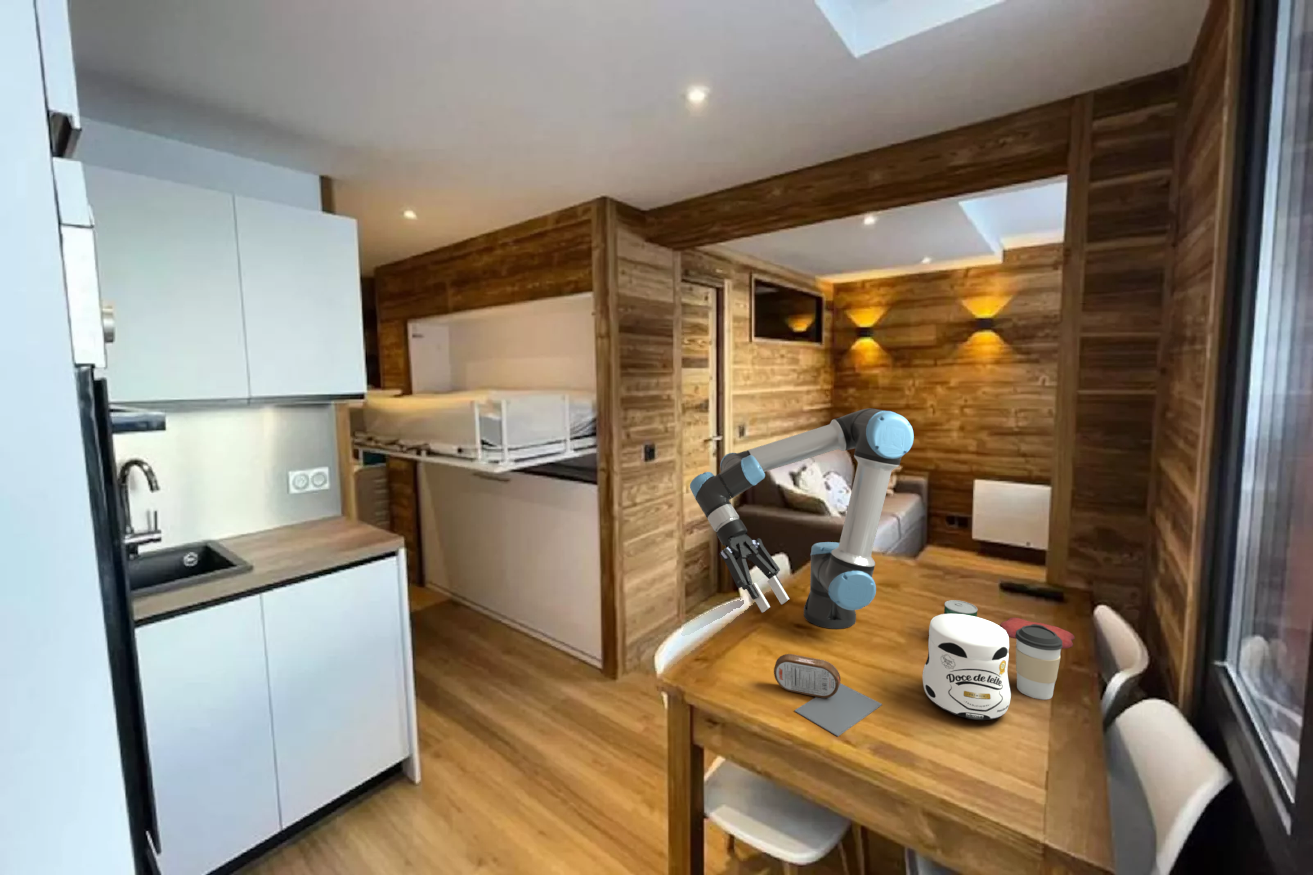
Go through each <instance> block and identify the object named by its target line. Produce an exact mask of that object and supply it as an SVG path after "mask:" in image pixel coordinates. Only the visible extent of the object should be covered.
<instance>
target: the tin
mask: <svg viewBox="0 0 1313 875" xmlns="http://www.w3.org/2000/svg"><path fill="white" fill-rule="evenodd" d="M773 675H774V679H775V681H776V682H777V684H778V685H779V686H780V687H781V688H783V689H784V690H786V691H788V692H792V693H796V694H802V695H807V696H812V697H814V698H815V697H820V698H829V697H831V696H833V695H834V694H835V693H836V692H837V690H838V688H839V685H840V683H841V679H842V678H841V674H840V672H839V670H838V669H837V668H836V666H835V665H834V664H832V663H831V662H829V661H827V660H826V659H825V660H824V659H820V658H814V657H810V656H803V655H797V654H792V653H788V654H787V653H785V654H783V655H780V656H779V657H778V658H777V659H776V661H775V664H774V667H773Z"/></svg>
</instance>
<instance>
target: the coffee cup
mask: <svg viewBox="0 0 1313 875" xmlns="http://www.w3.org/2000/svg"><path fill="white" fill-rule="evenodd" d="M1015 637H1016V644H1015V671H1016V688H1017V690H1018V691H1019V692H1020V693H1022V694H1024V695H1026V696H1027V697H1030V698H1033V699H1036V700H1050V699H1052V698H1053V695H1054V690H1055V684H1056V681H1057V678H1058V673H1059V666H1060V661H1061V651H1062V649H1063V648H1062V647H1063V645H1062V640H1061V639H1060V638H1059V637H1058V636H1057V634H1056V633H1055V632H1053V631H1051V630H1049V629H1047V628H1046V627H1044V626H1042V625H1037V624H1032V625H1028V626H1023V627H1022V628H1021V629H1018V630H1017V631H1016V635H1015Z"/></svg>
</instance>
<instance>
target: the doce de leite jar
mask: <svg viewBox="0 0 1313 875" xmlns="http://www.w3.org/2000/svg"><path fill="white" fill-rule="evenodd" d="M928 635H929V636H928V652H927V653H928V654H927V658H926V661H925V663H924V666H923V670H922V685H923V690H924V692H925V694H926V696H927V698H928V699H929V700H930V701H931V702H932V703H933V704H934V705H936V706H938V707H939V708H940V709H942V710H944V711H945V712H948V713H949V714H953V715H955V716H957V717H961V718H965V719H968V720H977V721H986V720H987V721H988V720H989V721H990V720H995V719H998V718H1001V717H1002V716H1004V715H1005V714H1006V713H1007V711H1008V709H1009V707H1010V703H1011V699H1012V698H1011V697H1012V690H1011V684H1010V680H1009V675H1008V666H1009V659H1010V658H1009V656H1010V654H1009V652H1010V651H1009V649H1010V637H1008V634H1007V632H1006V631H1005V630H1004V629H1003V628H1002V627H1000V625H998V624H997V623H995V622H993V621H990V620H987V619H985V618H982V617H979V616H977V617H975V616H970V615H964V614H944V613H941V614H938V615H936V616H934V617H933V618H932V619H931V620H930V623H929V627H928Z"/></svg>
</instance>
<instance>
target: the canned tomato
mask: <svg viewBox="0 0 1313 875" xmlns="http://www.w3.org/2000/svg"><path fill="white" fill-rule="evenodd" d="M943 610H944V612H943V614H964V615H970V616H975V617H978V607H977V606H976V605H974V604H973V603H969V602H966V601H963V600H958V599H957V600H955V599H954V600H953V599H951V600H946V601H944V609H943Z"/></svg>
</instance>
